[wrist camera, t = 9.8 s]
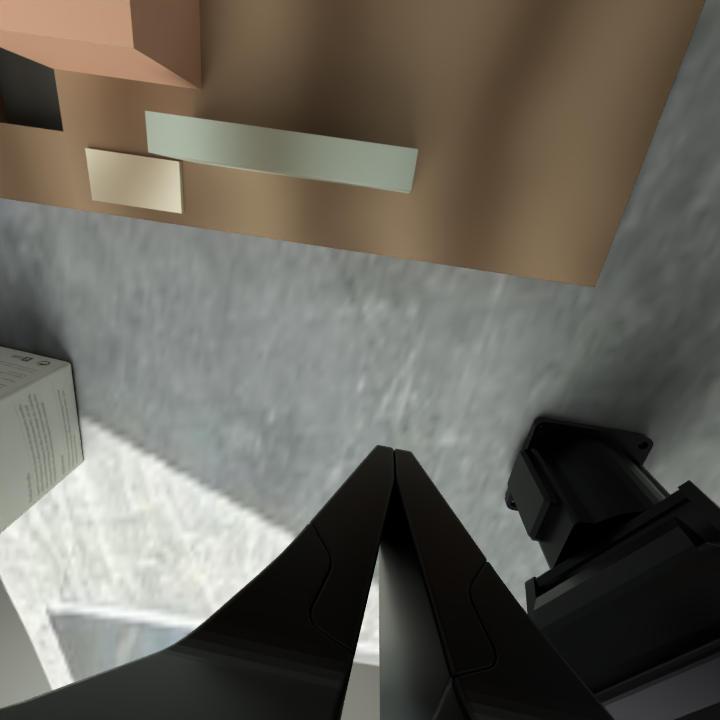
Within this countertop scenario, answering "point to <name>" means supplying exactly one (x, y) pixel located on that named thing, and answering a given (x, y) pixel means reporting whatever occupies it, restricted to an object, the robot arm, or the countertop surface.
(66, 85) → the tunnel deck
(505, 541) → the countertop surface
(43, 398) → the skincare box
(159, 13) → the block
